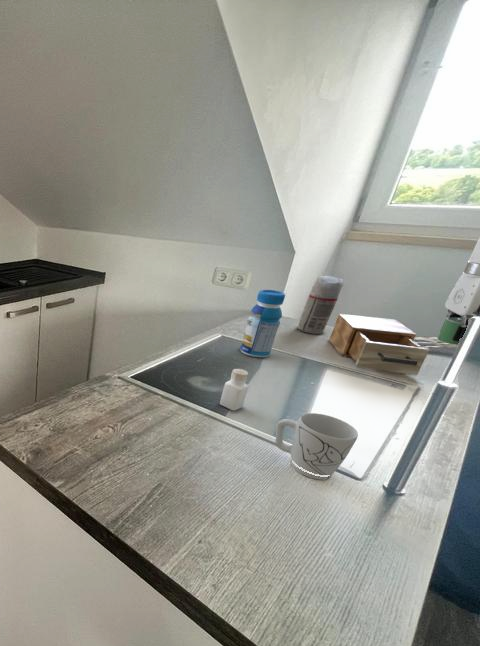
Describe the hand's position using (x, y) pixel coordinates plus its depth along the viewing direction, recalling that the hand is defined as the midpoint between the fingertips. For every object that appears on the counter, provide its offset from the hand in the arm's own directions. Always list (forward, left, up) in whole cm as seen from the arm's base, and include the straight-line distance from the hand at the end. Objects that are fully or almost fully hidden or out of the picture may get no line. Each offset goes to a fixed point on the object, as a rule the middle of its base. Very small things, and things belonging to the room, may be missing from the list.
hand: (454, 336), depth 105 cm
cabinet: (+12, -13, -12) cm, 21 cm away
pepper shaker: (+53, +43, -12) cm, 70 cm away
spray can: (+23, -29, -12) cm, 39 cm away
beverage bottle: (+44, +3, -12) cm, 46 cm away
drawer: (+12, +1, -11) cm, 16 cm away
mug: (+42, +62, -12) cm, 76 cm away
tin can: (0, 0, -1) cm, 1 cm away
